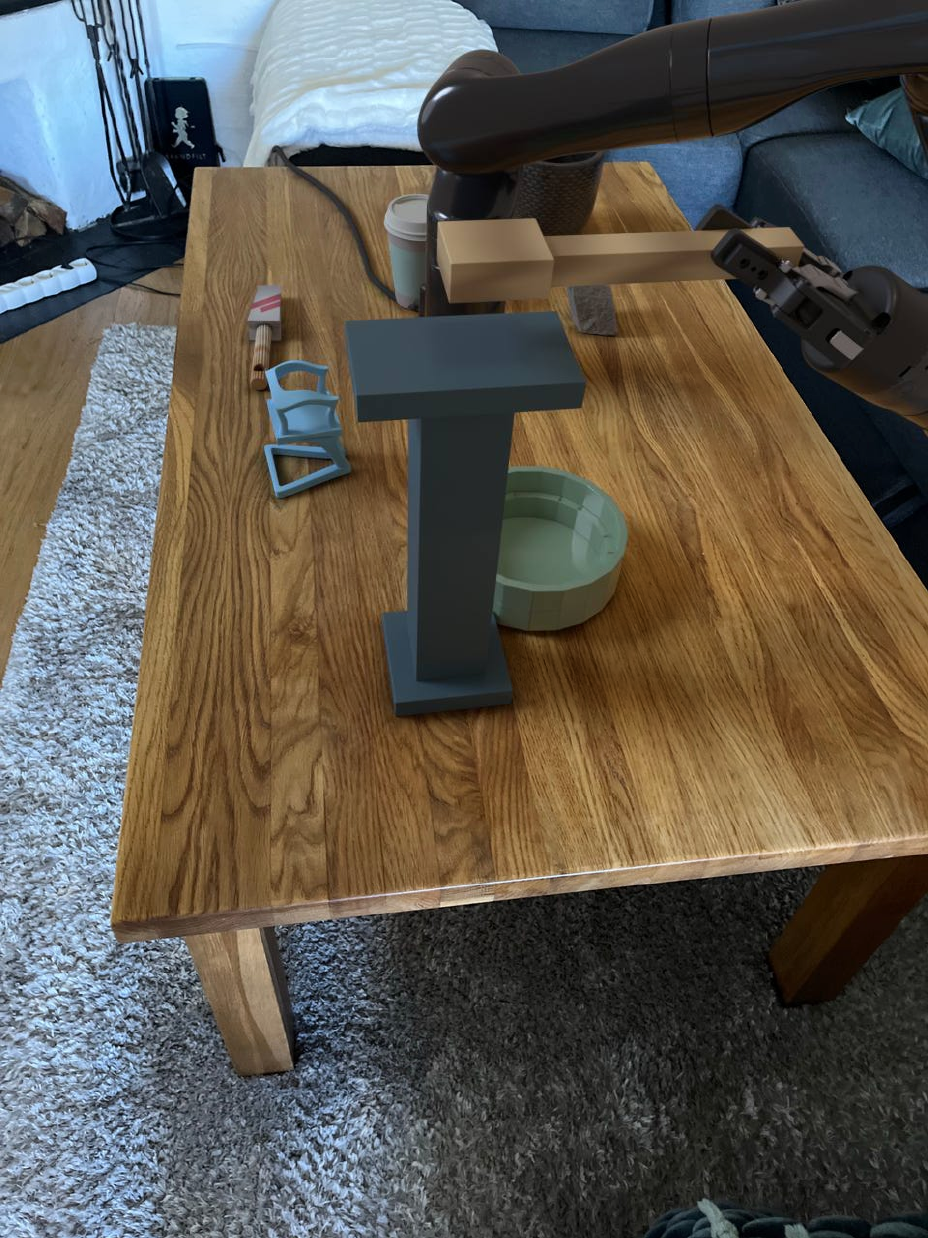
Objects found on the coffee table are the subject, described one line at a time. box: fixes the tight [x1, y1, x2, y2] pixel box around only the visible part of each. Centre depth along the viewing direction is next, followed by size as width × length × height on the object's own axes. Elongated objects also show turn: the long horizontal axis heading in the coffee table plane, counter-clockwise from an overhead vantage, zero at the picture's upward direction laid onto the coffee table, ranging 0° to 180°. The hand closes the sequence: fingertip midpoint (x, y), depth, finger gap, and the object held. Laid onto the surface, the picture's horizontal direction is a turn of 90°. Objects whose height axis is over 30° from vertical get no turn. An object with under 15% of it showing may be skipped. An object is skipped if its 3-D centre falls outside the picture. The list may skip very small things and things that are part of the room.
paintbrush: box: [246, 284, 282, 391], centre depth 113 cm, size 4×3×20 cm
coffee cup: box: [383, 193, 429, 311], centre depth 117 cm, size 8×9×12 cm
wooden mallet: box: [437, 218, 805, 303], centre depth 56 cm, size 22×5×2 cm, turn 100°
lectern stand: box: [344, 310, 587, 717], centre depth 71 cm, size 14×10×32 cm
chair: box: [263, 359, 352, 499], centre depth 94 cm, size 8×8×12 cm
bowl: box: [493, 465, 629, 632], centre depth 89 cm, size 17×17×6 cm
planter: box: [514, 151, 606, 236], centre depth 129 cm, size 14×14×13 cm
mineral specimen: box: [565, 285, 618, 336], centre depth 117 cm, size 7×9×8 cm
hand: (714, 232), depth 56 cm, fingers closed on wooden mallet, 2 cm apart
